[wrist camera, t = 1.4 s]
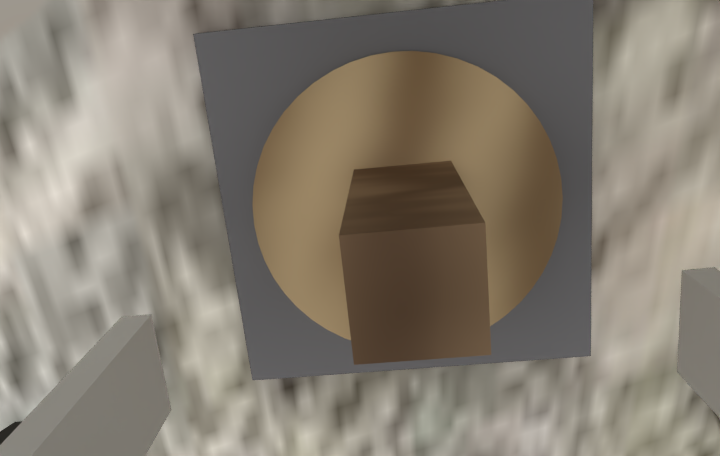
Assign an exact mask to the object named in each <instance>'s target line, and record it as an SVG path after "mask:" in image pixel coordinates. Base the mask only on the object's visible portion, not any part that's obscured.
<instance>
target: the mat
mask: <svg viewBox="0 0 720 456" xmlns="http://www.w3.org/2000/svg"><path fill="white" fill-rule="evenodd" d="M193 35H194V41H195V47H196V53H197V58H198V64H199V70H200V76H201V82H202V88H203V93H204V99H205V105H206V111H207V117H208V123H209V128H210V134H211V140H212V146H213V152H214V158H215V164H216V169H217V175H218V181H219V187H220V193H221V199H222V204H223V210H224V216H225V222H226V228H227V234H228V239H229V245H230V251H231V257H232V263H233V269H234V274H235V280H236V286H237V292H238V298H239V304H240V310H241V315H242V321H243V327H244V333H245V339H246V345H247V350H248V356H249V362H250V368H251V374H252V380H263V379H277V378H291V377H305V376H319V375H333V374H347V373H360V372H374V371H388V370H402V369H416V368H430V367H444V366H458V365H472V364H486V363H499V362H513V361H527V360H541V359H555V358H569V357H583V356H591V235H592V88H593V0H501V1H492V2H483V3H474V4H464V5H455V6H446V7H437V8H428V9H419V10H409V11H400V12H391V13H382V14H373V15H363V16H354V17H345V18H336V19H327V20H317V21H308V22H299V23H290V24H281V25H271V26H262V27H253V28H244V29H235V30H225V31H216V32H207V33H198V34H193ZM394 51H420V52H430V53H437V54H441V55H445V56H449V57H453V58H457V59H460V60H462V61H465V62H468V63H470V64H473V65H475V66H478V67H479V68H481V69H483V70H485V71H487V72H488V73H490V74H492V75H494V76H495V77H497V78H498V79H500V80H501V81H502V82H503V83H505V84H506V85H507V86H509V87H510V88H511V89H513V90H514V91H515V92H516V93H517V94H518V95H519V96H520V97H521V98H522V99H523V100H524V101H525V102H526V104H527V105H528V106H529V107H530V108H531V110H532V111H533V113H534V114H535V115H536V117H537V118H538V119H539V121H540V122H541V124H542V126H543V128H544V130H545V131H546V133H547V135H548V137H549V139H550V141H551V144H552V147H553V149H554V152H555V155H556V157H557V161H558V166H559V170H560V175H561V182H562V195H563V201H562V217H561V223H560V228H559V233H558V237H557V240H556V243H555V246H554V249H553V252H552V255H551V257H550V259H549V261H548V263H547V265H546V267H545V269H544V271H543V273H542V274H541V276H540V277H539V279H538V280H537V282H536V283H535V285H534V286H533V288H532V289H531V290H530V292H529V293H528V294H527V295H526V296H525V297H524V298H523V300H522V301H521V302H520V303H519V304H518V305H517V306H516V307H515V308H513V309H512V310H511V311H510V312H509V313H508V314H507V315H506V316H504V317H503V318H502V319H500V320H499V321H497V322H496V323H494V324H493V325H491V326H490V336H491V355H484V356H470V357H456V358H443V359H429V360H415V361H401V362H387V363H373V364H359V365H354V361H353V353H352V344H351V340H348V339H345V338H343V337H341V336H339V335H337V334H335V333H333V332H331V331H329V330H327V329H325V328H324V327H322V326H321V325H319V324H318V323H316V322H315V321H313V320H312V319H310V318H309V317H308V316H307V315H306V314H305V313H303V312H302V311H301V310H300V309H299V308H297V307H296V305H295V304H294V303H293V302H292V301H291V300H290V299H289V298H288V297H287V296H286V294H285V293H284V292H283V291H282V289H281V288H280V286H279V285H278V283H277V282H276V281H275V279H274V278H273V276H272V274H271V272H270V270H269V268H268V266H267V264H266V262H265V260H264V257H263V255H262V252H261V249H260V247H259V244H258V240H257V235H256V231H255V226H254V217H253V206H252V205H253V186H254V180H255V175H256V169H257V165H258V162H259V159H260V156H261V153H262V150H263V147H264V145H265V143H266V141H267V139H268V137H269V135H270V133H271V131H272V129H273V127H274V126H275V124H276V123H277V121H278V120H279V118H280V117H281V115H282V114H283V112H284V111H285V110H286V109H287V108H288V107H289V106H290V105H291V103H292V102H293V101H294V100H295V99H296V98H297V97H298V96H299V95H300V94H301V93H302V92H304V91H305V90H306V89H307V88H308V87H309V86H310V85H312V84H313V83H314V82H316V81H317V80H319V79H320V78H322V77H323V76H325V75H327V74H328V73H330V72H331V71H333V70H335V69H337V68H339V67H341V66H343V65H345V64H347V63H350V62H352V61H355V60H358V59H361V58H364V57H367V56H371V55H375V54H381V53H387V52H394Z"/></svg>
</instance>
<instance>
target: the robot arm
mask: <svg viewBox="0 0 720 456" xmlns="http://www.w3.org/2000/svg"><path fill="white" fill-rule="evenodd" d="M677 372H678V373H679V374H680V376H681V377H682V378H683V379H684V380H685V381H686V382H687V383H688V384H689V385H690V386H691V388H692V389H693V390H694V391H695V392H696V393H697V394H698V395H699V396H700V397H701V398H702V399H703V401H704V402H705V403H706V404H707V405H708V406H709V407H710V408H711V409H712V410H713V411H714V413H715V414H716V415H717V416H718V417H719V418H720V271H719V270H718V269H716V268H715V267H714V268H702V269H690V270H682V278H681V299H680V321H679V343H678V364H677ZM170 411H171V405H170V401H169V396H168V391H167V386H166V382H165V377H164V372H163V368H162V363H161V358H160V353H159V349H158V344H157V339H156V335H155V330H154V325H153V320H152V316H151V314H149V315H137V316H125V317H121V318H120V319H119V320H118V321H117V322H116V323H115V324H114V326H113V327H112V328H111V329H110V330H109V331H108V332H107V333H106V334H105V335H104V336H103V337H102V338H101V339H100V340H99V341H98V342H97V343H96V345H95V346H94V347H93V348H92V349H91V350H90V351H89V352H88V353H87V354H86V355H85V356H84V357H83V358H82V359H81V360H80V361H79V362H78V363H77V365H76V366H75V367H74V368H73V369H72V370H71V371H70V372H69V373H68V374H67V375H66V376H65V377H64V378H63V379H62V380H61V381H60V382H59V384H58V385H57V386H56V387H55V388H54V389H53V390H52V391H51V392H50V393H49V394H48V395H47V396H46V397H45V398H44V399H43V400H42V401H41V402H40V404H39V405H38V406H37V407H36V408H35V409H34V410H33V411H32V412H31V413H30V414H29V415H28V416H27V417H26V418H25V419H24V420H23V421H22V422H14V423H13V424H11V425H10V426H8V427H7V428H5V429H4V430H2V431H0V456H145V455H146V453H147V452H148V450H149V448H150V446H151V445H152V443H153V441H154V439H155V438H156V436H157V434H158V432H159V431H160V429H161V427H162V425H163V424H164V422H165V420H166V418H167V416H168V415H169V413H170Z"/></svg>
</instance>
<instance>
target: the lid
mask: <svg viewBox="0 0 720 456" xmlns="http://www.w3.org/2000/svg"><path fill="white" fill-rule="evenodd" d="M562 201H563V195H562V182H561V175H560V170H559V166H558V161H557V157H556V155H555V152H554V149H553V147H552V144H551V141H550V139H549V137H548V135H547V133H546V131H545V130H544V128H543V126H542V124H541V122H540V121H539V119H538V118H537V117H536V115H535V114H534V113H533V111H532V110H531V108H530V107H529V106H528V105H527V104H526V102H525V101H524V100H523V99H522V98H521V97H520V96H519V95H518V94H517V93H516V92H515V91H514V90H513V89H511V88H510V87H509V86H507V85H506V84H505V83H503V82H502V81H501V80H500V79H498V78H497V77H495V76H494V75H492V74H490V73H488V72H487V71H485V70H483V69H481V68H479V67H478V66H475V65H473V64H470V63H468V62H465V61H462V60H460V59H457V58H453V57H449V56H445V55H441V54H437V53H430V52H420V51H394V52H387V53H381V54H375V55H371V56H367V57H364V58H361V59H358V60H355V61H352V62H350V63H347V64H345V65H343V66H341V67H339V68H337V69H335V70H333V71H331V72H330V73H328V74H327V75H325V76H323V77H322V78H320V79H319V80H317V81H316V82H314V83H313V84H312V85H310V86H309V87H308V88H307V89H306V90H305V91H304V92H302V93H301V94H300V95H299V96H298V97H297V98H296V99H295V100H294V101H293V102H292V103H291V105H290V106H289V107H288V108H287V109H286V110H285V111H284V112H283V114H282V115H281V117H280V118H279V120H278V121H277V123H276V124H275V126H274V127H273V129H272V131H271V133H270V135H269V137H268V139H267V141H266V143H265V145H264V147H263V150H262V153H261V156H260V159H259V162H258V165H257V169H256V175H255V180H254V186H253V205H252V206H253V217H254V226H255V231H256V235H257V240H258V244H259V247H260V249H261V252H262V255H263V257H264V260H265V262H266V264H267V266H268V268H269V270H270V272H271V274H272V276H273V278H274V279H275V281H276V282H277V283H278V285H279V286H280V288H281V289H282V291H283V292H284V293H285V294H286V296H287V297H288V298H289V299H290V300H291V301H292V302H293V303H294V304H295V305H296V307H297V308H299V309H300V310H301V311H302V312H303V313H305V314H306V315H307V316H308V317H309V318H310V319H312V320H313V321H315V322H316V323H318V324H319V325H321V326H322V327H324V328H325V329H327V330H329V331H331V332H333V333H335V334H337V335H339V336H341V337H343V338H345V339H348V340H351V344H352V353H353V361H354V365H359V364H373V363H387V362H401V361H415V360H429V359H443V358H456V357H470V356H484V355H491V336H490V326H491V325H493V324H494V323H496V322H497V321H499V320H500V319H502V318H503V317H504V316H506V315H507V314H508V313H509V312H510V311H511V310H512V309H513V308H515V307H516V306H517V305H518V304H519V303H520V302H521V301H522V300H523V298H524V297H525V296H526V295H527V294H528V293H529V292H530V290H531V289H532V288H533V286H534V285H535V283H536V282H537V280H538V279H539V277H540V276H541V274H542V273H543V271H544V269H545V267H546V265H547V263H548V261H549V259H550V257H551V255H552V252H553V249H554V246H555V243H556V240H557V237H558V233H559V228H560V223H561V217H562Z"/></svg>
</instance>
